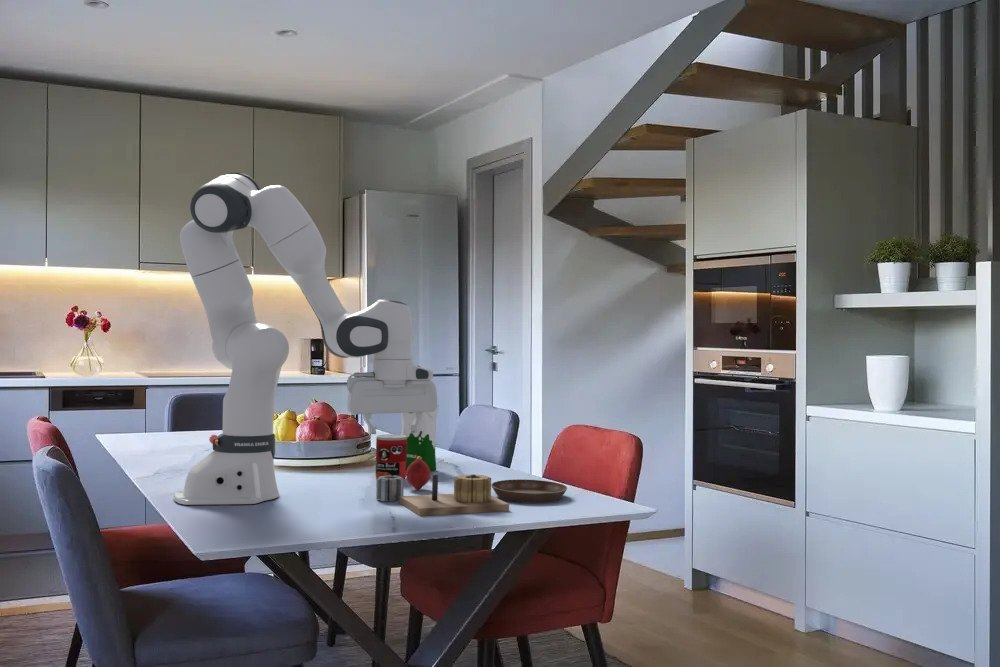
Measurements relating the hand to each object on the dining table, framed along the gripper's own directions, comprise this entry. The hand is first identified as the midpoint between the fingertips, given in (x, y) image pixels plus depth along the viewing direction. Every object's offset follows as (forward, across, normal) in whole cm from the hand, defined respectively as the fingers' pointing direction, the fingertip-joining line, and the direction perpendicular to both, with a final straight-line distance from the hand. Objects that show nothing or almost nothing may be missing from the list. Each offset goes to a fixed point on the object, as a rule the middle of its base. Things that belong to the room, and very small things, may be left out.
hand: (392, 433), depth 217 cm
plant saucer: (+16, +31, -5) cm, 36 cm away
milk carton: (+16, +18, +40) cm, 47 cm away
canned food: (+15, +7, +28) cm, 33 cm away
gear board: (+15, +10, -12) cm, 22 cm away
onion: (+15, +9, +11) cm, 21 cm away
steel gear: (+15, -1, 0) cm, 15 cm away
